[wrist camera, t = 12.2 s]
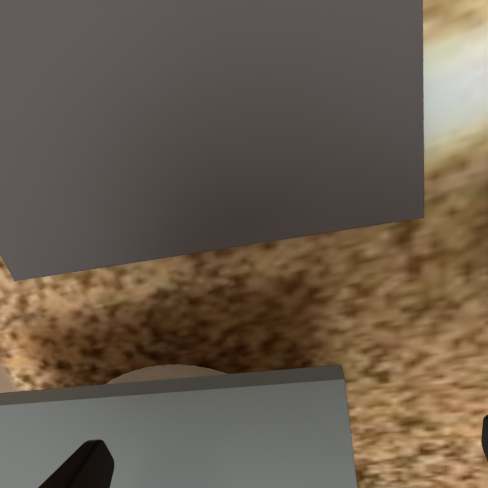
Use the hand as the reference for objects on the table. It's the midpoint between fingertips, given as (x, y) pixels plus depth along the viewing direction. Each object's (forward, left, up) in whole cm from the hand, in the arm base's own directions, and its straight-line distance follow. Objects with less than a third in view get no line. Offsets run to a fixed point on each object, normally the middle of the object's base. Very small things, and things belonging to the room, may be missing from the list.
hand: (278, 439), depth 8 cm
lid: (-4, +16, -6) cm, 18 cm away
